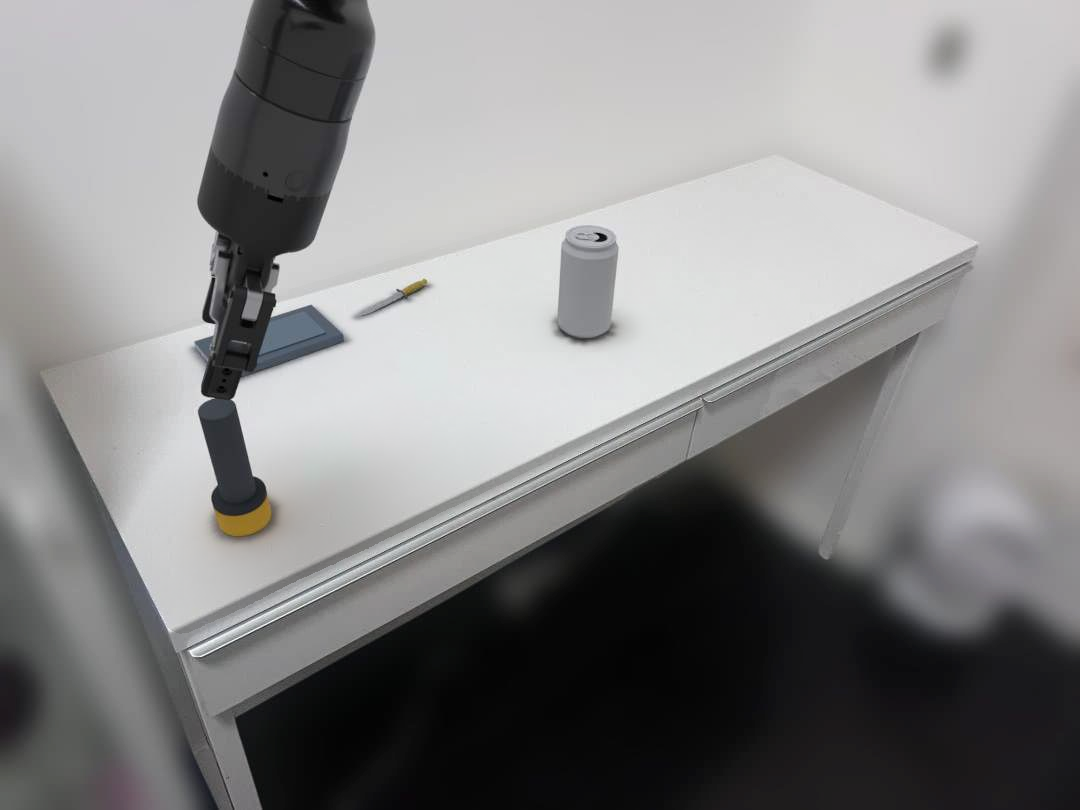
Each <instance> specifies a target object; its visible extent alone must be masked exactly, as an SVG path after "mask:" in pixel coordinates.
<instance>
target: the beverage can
mask: <svg viewBox="0 0 1080 810" xmlns="http://www.w3.org/2000/svg"><path fill="white" fill-rule="evenodd" d="M564 237H565V238H564V239H563V240H562V242H561V245H560V246H561V248H560V265H559V282H558V283H559V284H558V299H557V301H558V302H557V315H556V316H557V317H556V321H557V326H558V327H559V328H560V329H561V330H562V331H563V332H565V333H566V334H567V335H569V336H571V337H574V338H577V339H592V338H597V337H600V336H601V335H603V334H605V333H607V332H608V331H609V329H610V328H611V324H612V316H613V305H614V296H615V287H616V279H617V277H616V276H617V268H618V260H619V248H620V247H619V245H618V243H617V235H616V234H615V232H613V230H611V229H609V228H607V227H604V226H600V225H594V224H593V225H591V224H584V225H582V224H581V225H577V226H574V227H571V228H569V229H568V230H567V231H565V236H564Z"/></svg>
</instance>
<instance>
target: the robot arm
mask: <svg viewBox="0 0 1080 810" xmlns="http://www.w3.org/2000/svg"><path fill="white" fill-rule="evenodd" d="M376 34H377V33H376V27H375V24H374V21H373V18H372V15H371V11H370V7H369V2H368V0H252V2H251V5H250V9H249V12H248V15H247V18H246V22H245V27H244V31H243V35H242V39H241V43H240V47H239V51H238V56H237V59H236V62H235V67H234V69H233V72H232V76H231V79H230V81H229V83H228V86H227V88H226V90H225V92H224V94H223V97H222V100H221V103H220V106H219V110H218V114H217V117H216V121H215V126H214V130H213V133H212V138H211V142H210V146H209V150H208V154H207V158H206V162H205V165H204V170H203V174H202V178H201V181H200V184H199V185H200V186H199V190H198V194H197V199H196V205H197V209H198V211H199V213H200V215H201V217H202V218H203V220H204V221H205V222H206V223H207V224H208V225H209V227H211V228H212V229H213V230H214V231H215V234H214V238H213V239H214V240H213V243H212V246H211V252H210V258H209V272H210V277H211V279H210V282H209V286H208V288H207V294H206V296H205V299H204V300H205V301H204V304H203V308H202V312H201V318H202V321H203V322H204V323H207V324H210V325H211V324H212V325H214V330H213V335H212V336H213V341H212V343H210V348H209V350H210V351H211V352H210V356H209V359H208V363H207V362H206V366H205V370H204V373H203V376H202V379H201V384H200V393H201V395H202V396H203V397H205V398H211V399H214V398H217V399H223V400H230V399H231V400H232V399H234V398H235V396H236V393H237V390H238V387H239V384H240V380H241V378H242V377H241V375H242V372H243V371H245V372H250V373H251V374H254V373H253V371H254V369H255V368H256V366H257V359H258V356H259V353H260V350H261V346H262V343H263V340H264V337H265V334H266V331H267V327H268V324H269V321H270V318H271V317H272V314H273V312H274V308H276V307H277V299H276V293H274V292H273V289H274V288H275V287H277V284H278V279H279V275H280V267H281V266H280V263H277V262H275V260H276V257H278V256H282V255H285V254H289V253H290V254H291V253H292V254H293V253H297V252H300V251H303V250H305V249H307V248H308V247H310V246H311V245H312V244H313V242H314V241H315V239H316V236H317V233H318V230H319V228H320V224H321V222H322V219H323V217H324V213H325V210H326V207H327V205H328V202H329V198H330V196H331V193H332V190H333V187H334V184H335V181H336V178H337V176H338V173H339V170H340V167H341V164H342V161H343V158H344V155H345V152H346V149H347V145H348V144H347V143H348V138H349V133H350V127H351V123H352V120H353V116H354V114H355V111H356V109H357V105H358V102H359V100H360V96H361V93H362V92H363V91H362V90H363V89H364V88H363V87H364V85H365V82H366V79H367V75H368V73H369V70H370V66H371V64H372V60H373V56H374V51H375V48H376V47H375V46H376V40H377V39H376V37H377V35H376ZM232 340H235V341H241V342H244V344H243V343H238V342H232Z"/></svg>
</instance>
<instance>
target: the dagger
mask: <svg viewBox="0 0 1080 810" xmlns="http://www.w3.org/2000/svg"><path fill="white" fill-rule="evenodd" d="M427 284H428V280H427V279H426V278H423V279H422V280H418V281H415V282H413V283H410V285H407V286H406V287H404V288H403V289H399V288H396V289H395V290H396V293H394V294H392V295H391V296H389V297H386V299H383V300H382V301H380V302H378V303H377V304H374V305H373V306H371V307H369V308H368V309H366V310H365V311H363V313H362V314H361V315H360V317H362V316H366V315H369V314H371V313H373V312H375V311H377V310H380V309H381V308H383V307H386V306H388V305H389V304H391V303H394V302H395V301H397V300H399V299H402V298H405V299H408V298H409V297H408V295H409V294H412V293H414V292H415V291H418V289H421V288H422V287H423V286H424V285H427Z"/></svg>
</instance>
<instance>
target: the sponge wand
mask: <svg viewBox="0 0 1080 810" xmlns="http://www.w3.org/2000/svg"><path fill="white" fill-rule="evenodd" d="M197 415H198V419H199V422H200V426H201V431H202V433H203V437H204V440H205V444H206V447H207V450H208V454H209V455H208V456H209V458H210V463H211V465H212V469H213V473H214V477H215V479H216V483H217V485H216V486H215V487H214V489H213V490H212V492H211V495H210V500H211V505H212V508H213V511H214V515H215V518H216V521H217V525H218V527H219V529H220V530H221V532H222V533H224V534H226V535H229V536H232V537H245V536H246V537H247V536H250V535H253V534H256V533H257V532H259V531H261V530H262V529H264V528H265V527H266V526H267V525H268V523H270V520H271V518H272V507H271V504H270V500H269V494H268V491H267V486H266V483H265V482H264V481H263V480H262V479H261V478H260V477H257V476H254V474H253V470H252V467H251V466H252V465H251V463H250V458H249V455H248V450H247V445H246V442H245V438H244V434H243V433H244V432H243V430H242V424H241V420H240V416H239V412H238V408H237V404H236V402H235V401H234V400H232V399H230V400H223V399H217V398H211V399H208V400H206V401H204V402H203V403H201V404H200V405H199V407H198V409H197Z"/></svg>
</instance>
